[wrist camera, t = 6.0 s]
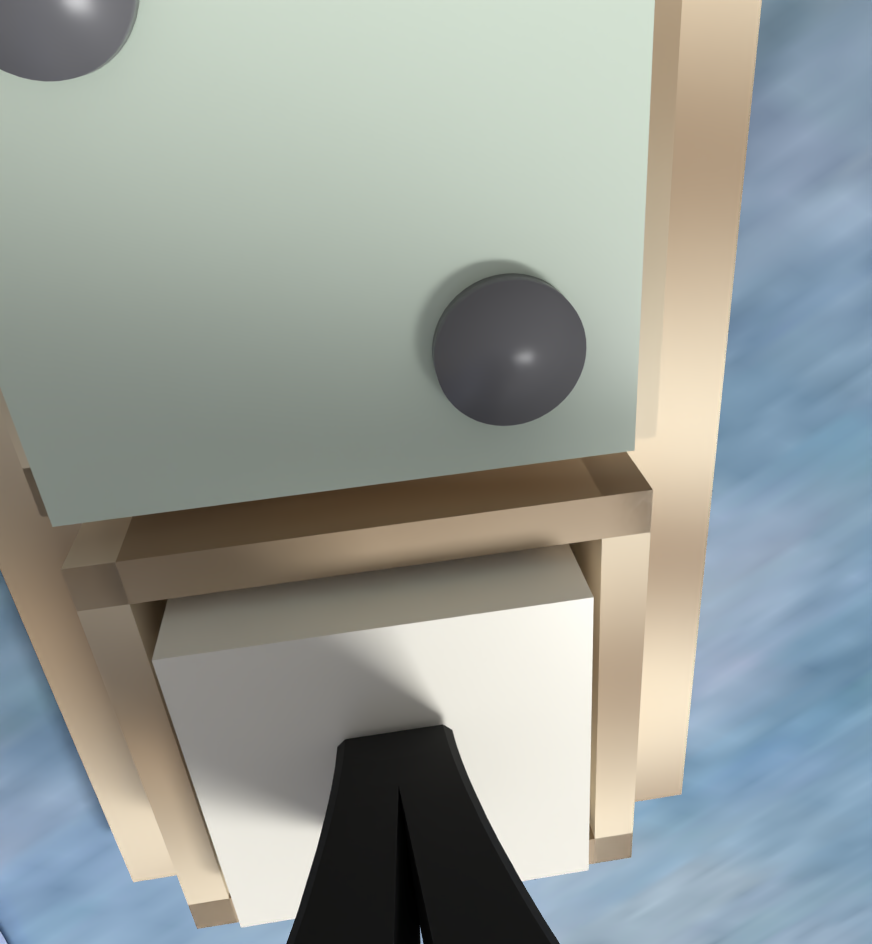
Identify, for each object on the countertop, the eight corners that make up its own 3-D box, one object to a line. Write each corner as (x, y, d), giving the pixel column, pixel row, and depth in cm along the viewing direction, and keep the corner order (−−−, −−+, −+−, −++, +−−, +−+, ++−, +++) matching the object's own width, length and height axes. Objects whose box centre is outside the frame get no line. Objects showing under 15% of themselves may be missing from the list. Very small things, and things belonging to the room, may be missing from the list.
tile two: (564, 351, 9) (641, 460, 7) (114, 406, 9) (45, 539, 7) (561, -213, 7) (681, -327, 5) (-60, -168, 6) (-264, -263, 4)
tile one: (548, 742, 14) (592, 883, 12) (253, 788, 14) (240, 941, 11) (544, 491, 11) (599, 608, 9) (183, 539, 11) (148, 673, 9)
